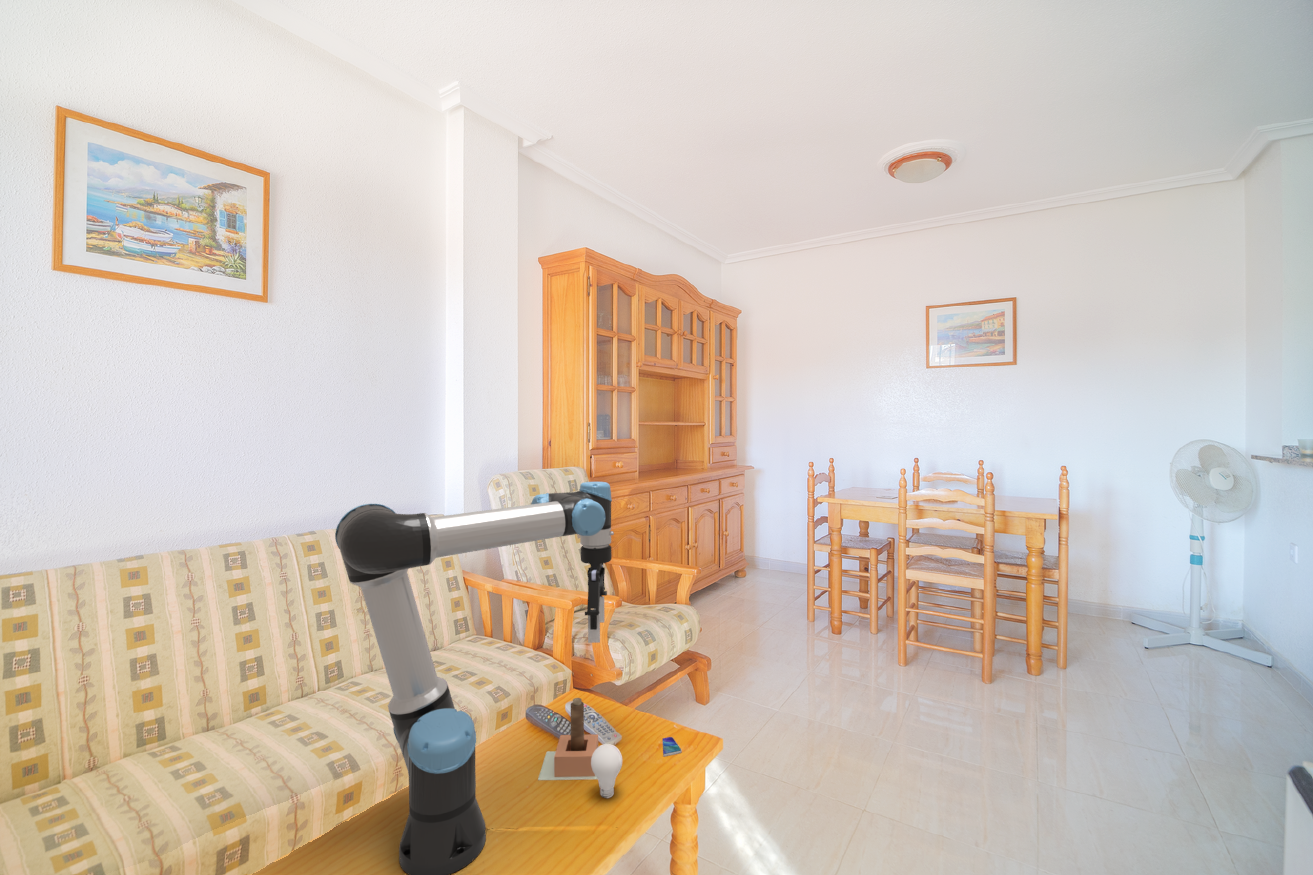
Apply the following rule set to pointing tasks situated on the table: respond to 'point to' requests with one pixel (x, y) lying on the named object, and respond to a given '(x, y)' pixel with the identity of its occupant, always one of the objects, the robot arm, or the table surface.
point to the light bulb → (606, 767)
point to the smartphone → (670, 747)
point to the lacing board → (548, 770)
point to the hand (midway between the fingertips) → (596, 631)
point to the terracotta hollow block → (574, 757)
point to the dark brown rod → (577, 725)
